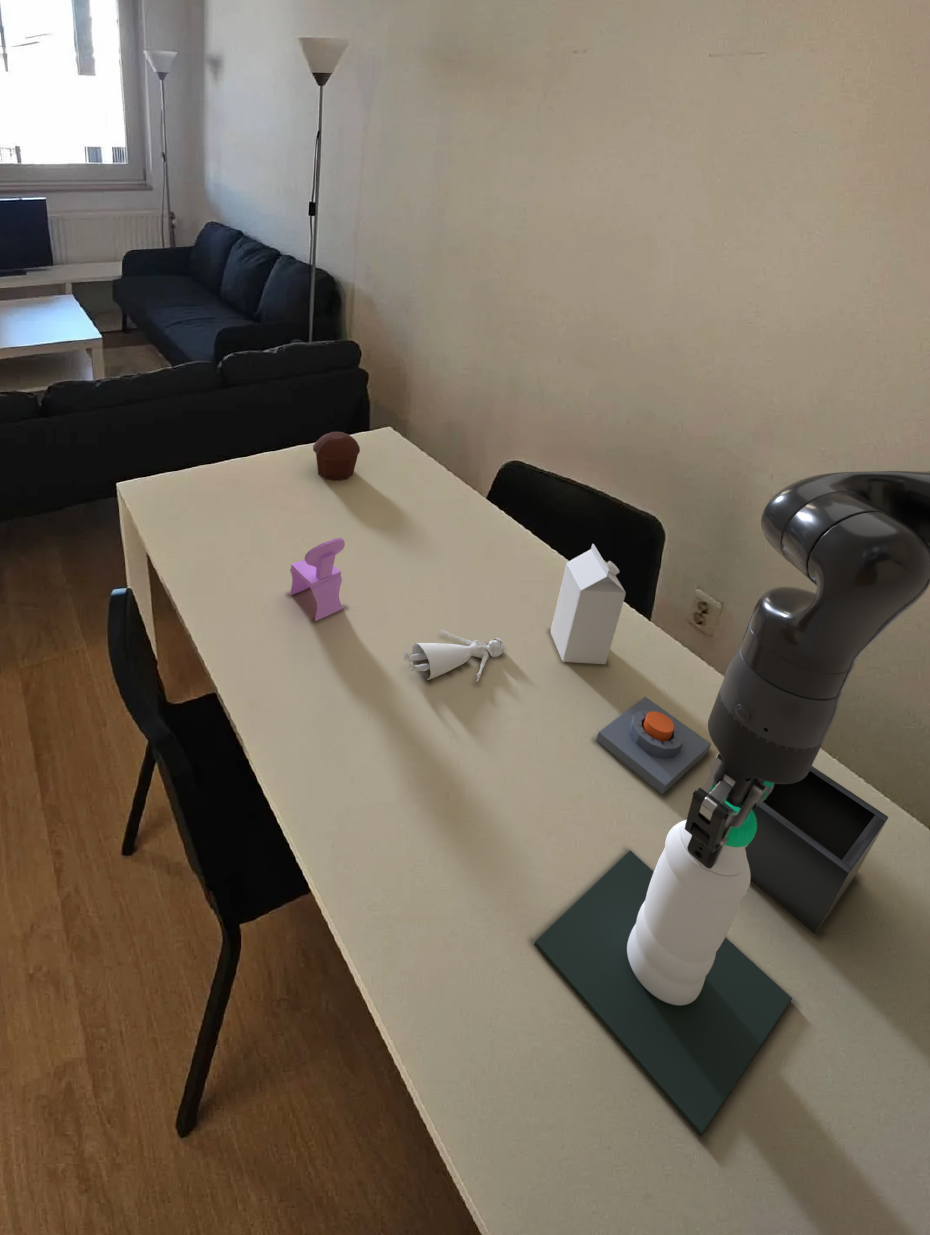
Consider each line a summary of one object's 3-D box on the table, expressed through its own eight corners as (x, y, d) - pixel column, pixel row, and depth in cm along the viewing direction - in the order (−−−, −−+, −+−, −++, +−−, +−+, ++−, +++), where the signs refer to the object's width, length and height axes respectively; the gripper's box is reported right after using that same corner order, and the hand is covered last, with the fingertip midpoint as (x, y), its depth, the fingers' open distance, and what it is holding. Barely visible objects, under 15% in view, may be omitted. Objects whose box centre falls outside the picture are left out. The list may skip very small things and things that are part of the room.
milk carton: (562, 663, 112) (586, 569, 104) (549, 633, 119) (571, 542, 111) (605, 666, 112) (632, 572, 104) (590, 635, 118) (614, 544, 111)
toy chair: (320, 581, 129) (324, 514, 123) (348, 608, 122) (354, 538, 116) (283, 596, 124) (285, 527, 118) (310, 625, 118) (314, 553, 112)
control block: (641, 706, 104) (648, 687, 103) (707, 754, 97) (715, 734, 95) (595, 742, 98) (601, 722, 96) (661, 797, 91) (669, 776, 89)
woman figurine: (393, 626, 112) (486, 612, 118) (389, 648, 113) (481, 632, 120) (426, 679, 102) (526, 660, 108) (421, 701, 103) (520, 681, 109)
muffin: (338, 456, 175) (340, 421, 171) (367, 474, 168) (370, 438, 164) (302, 469, 169) (303, 433, 165) (331, 488, 161) (333, 450, 157)
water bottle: (700, 955, 73) (773, 794, 63) (697, 1025, 67) (776, 861, 57) (629, 917, 76) (687, 759, 66) (621, 981, 70) (683, 818, 60)
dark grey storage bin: (753, 803, 90) (780, 744, 86) (853, 878, 82) (888, 816, 77) (710, 850, 84) (736, 789, 80) (813, 936, 76) (849, 873, 71)
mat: (628, 855, 83) (630, 849, 83) (789, 1003, 70) (792, 998, 69) (533, 946, 74) (535, 940, 73) (699, 1138, 60) (702, 1133, 60)
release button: (652, 716, 98) (655, 707, 98) (676, 733, 96) (679, 724, 95) (638, 727, 96) (641, 718, 96) (662, 745, 94) (665, 736, 93)
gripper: (782, 784, 50) (718, 925, 57) (859, 700, 57) (794, 833, 64) (682, 714, 55) (634, 849, 62) (764, 645, 63) (713, 773, 70)
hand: (715, 840), depth 63 cm, fingers closed on water bottle, 5 cm apart
